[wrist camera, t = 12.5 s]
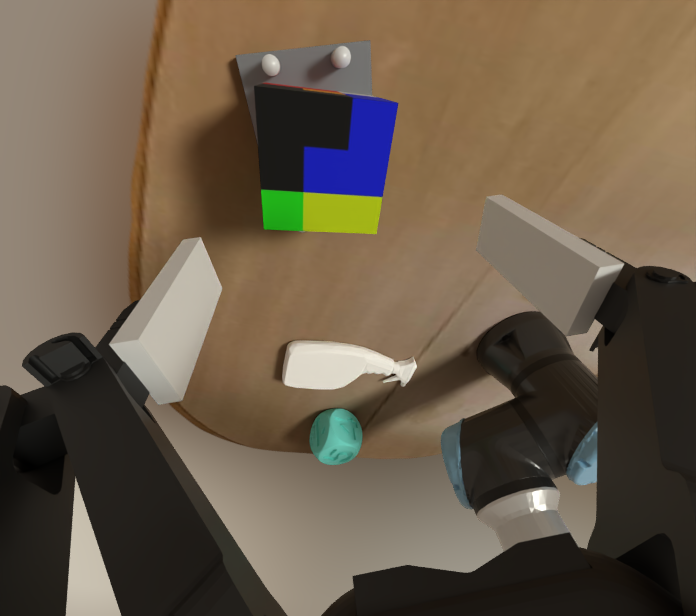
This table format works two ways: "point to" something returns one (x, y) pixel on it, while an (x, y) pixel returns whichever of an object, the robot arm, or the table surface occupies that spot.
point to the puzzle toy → (322, 158)
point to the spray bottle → (338, 365)
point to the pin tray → (308, 70)
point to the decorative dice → (335, 436)
